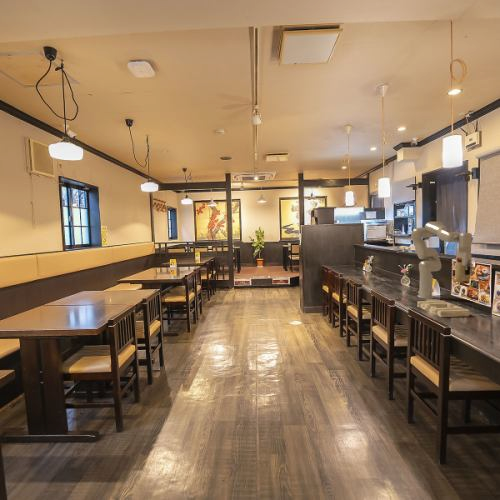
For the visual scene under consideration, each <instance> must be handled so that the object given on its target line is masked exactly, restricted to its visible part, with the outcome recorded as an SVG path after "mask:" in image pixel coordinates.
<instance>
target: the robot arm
mask: <svg viewBox="0 0 500 500" xmlns="http://www.w3.org/2000/svg"><path fill="white" fill-rule="evenodd" d="M410 236H411V240H412V242H413V245H414V248H415V251H416V255H417V257H418V259H420V260H422V261H419V264H418V270H419V290H418V291H417V293H418V294H417V295H416V297H418V298H420V299H425V300H427V299H428V300H429V299H430V300H432V299H434V298H435V296H434V295H433V282H434V281H433V278H434V276H433V274H432V272H438V271H440V270H441V269H442V262H441V259H440V256H439V253H438V251H437V250H436V248H434V247H427V243H426V241H425V240H424V239H423V238H432V237H434V236H437V238H439V240H441V241H444V242H446V243H458V250H457V252H456V257H455V261H454V263H455V264H456V261H457V257H462V266H465V267H466V269H465V275H470V269H471V270H472V268H473V266H474V264H473V261H472V260H473V259H472V257H473V256H472V243H473V242H472V240H473V234H472V232H471V233H470V232H462V231H461V232H460V231H459V232H458V231H454V232H453V231H451V232H450V231H448V229H447V227H446V226H445V224H444V223H443V222H441V221H427V222H426V224H424V227H416V228H414V229H413V230H412V231H411V235H410ZM467 264H470V265H467ZM467 266H468V267H467Z"/></svg>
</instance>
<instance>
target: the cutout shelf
mask: <svg viewBox="0 0 500 500" xmlns="http://www.w3.org/2000/svg"><path fill="white" fill-rule="evenodd" d="M416 306H417V307H418V308H420V309H423V310H425V311H426V312H429V313H431V314H433V315H435V316H438V317H440V318H447V317H449V318H450V317H452V318H453V317H469V316H470V310H469V309H467V308H464V307H461V306H459V305H456V304H453V303H451V302H447V301H445V300H424V301H422V300H420V301H419V300H418V301H417V305H416Z"/></svg>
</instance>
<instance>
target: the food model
mask: <svg viewBox="0 0 500 500" xmlns="http://www.w3.org/2000/svg"><path fill="white" fill-rule="evenodd" d="M455 261H456V260H455ZM467 265H470V264H467ZM467 267H468V266H467ZM465 269H466V267H465V266H462V257H457V261H456V263H455V272H454V273H455V274H454V275H455V277H454V279H455V280H454V281H455V283H460V284H469V282H470V281H471V277H472V276H471V275H472V268H471V269H470V275H465Z"/></svg>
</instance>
